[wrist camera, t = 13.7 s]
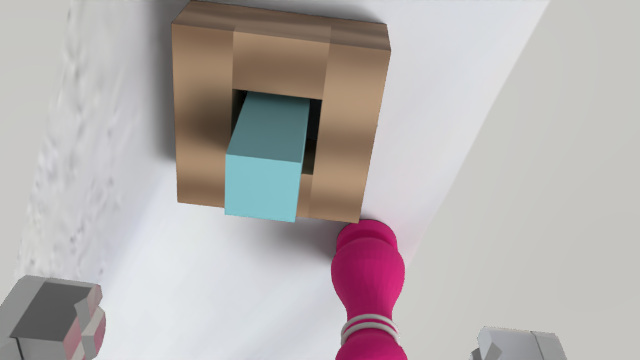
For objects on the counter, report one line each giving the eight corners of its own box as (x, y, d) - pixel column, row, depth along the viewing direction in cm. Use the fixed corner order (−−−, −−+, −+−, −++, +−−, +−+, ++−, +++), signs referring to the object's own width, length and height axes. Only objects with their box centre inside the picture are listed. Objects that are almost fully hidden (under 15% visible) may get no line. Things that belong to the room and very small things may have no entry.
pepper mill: (337, 271, 61) (333, 445, 44) (326, 219, 57) (317, 388, 41) (404, 264, 60) (425, 440, 43) (397, 211, 56) (418, 380, 40)
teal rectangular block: (255, 71, 49) (225, 154, 37) (312, 78, 49) (301, 163, 37) (252, 122, 51) (224, 214, 40) (307, 128, 52) (294, 222, 40)
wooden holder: (190, -1, 45) (171, 23, 40) (386, 24, 46) (391, 51, 41) (193, 166, 54) (177, 202, 49) (357, 185, 55) (358, 223, 50)
